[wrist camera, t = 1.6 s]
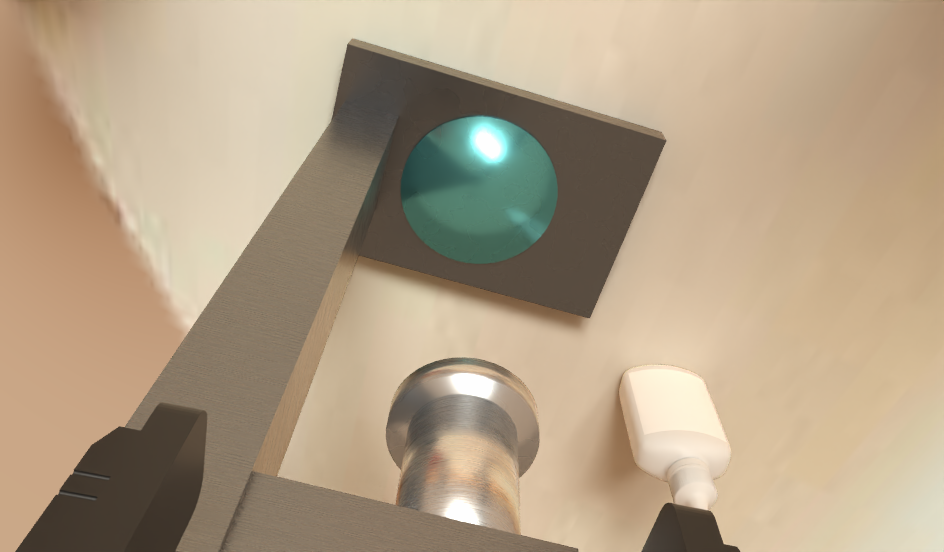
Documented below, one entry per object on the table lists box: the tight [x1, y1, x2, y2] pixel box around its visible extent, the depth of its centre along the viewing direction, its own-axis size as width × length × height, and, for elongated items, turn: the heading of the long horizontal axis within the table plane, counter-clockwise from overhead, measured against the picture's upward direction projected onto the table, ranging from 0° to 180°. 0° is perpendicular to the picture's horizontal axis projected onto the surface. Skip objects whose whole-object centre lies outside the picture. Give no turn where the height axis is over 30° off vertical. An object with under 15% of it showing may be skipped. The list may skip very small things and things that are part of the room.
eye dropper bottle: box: [619, 365, 731, 510], centre depth 46 cm, size 4×6×12 cm
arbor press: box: [125, 39, 666, 552], centre depth 34 cm, size 18×25×32 cm
